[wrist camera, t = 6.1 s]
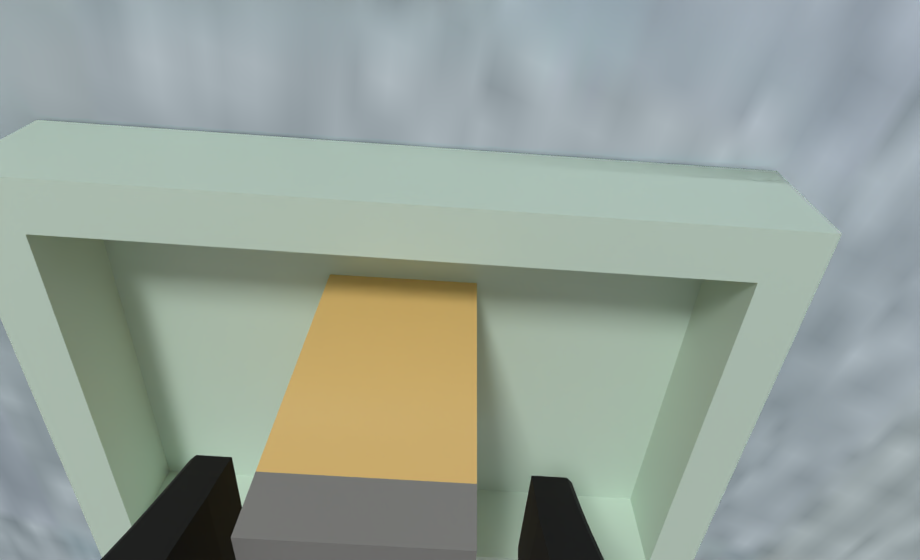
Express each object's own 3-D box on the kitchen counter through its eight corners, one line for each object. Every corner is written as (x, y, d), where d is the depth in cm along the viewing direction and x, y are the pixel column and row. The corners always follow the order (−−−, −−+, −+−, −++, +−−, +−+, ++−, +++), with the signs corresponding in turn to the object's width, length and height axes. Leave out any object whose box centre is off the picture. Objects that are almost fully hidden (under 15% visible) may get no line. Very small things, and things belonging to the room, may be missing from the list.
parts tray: (776, 171, 12) (842, 233, 10) (653, 505, 17) (678, 592, 15) (36, 119, 12) (-61, 172, 9) (149, 475, 17) (102, 559, 15)
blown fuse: (476, 282, 13) (477, 551, 8) (465, 422, 15) (459, 703, 10) (329, 274, 13) (231, 537, 7) (339, 415, 15) (268, 693, 10)
